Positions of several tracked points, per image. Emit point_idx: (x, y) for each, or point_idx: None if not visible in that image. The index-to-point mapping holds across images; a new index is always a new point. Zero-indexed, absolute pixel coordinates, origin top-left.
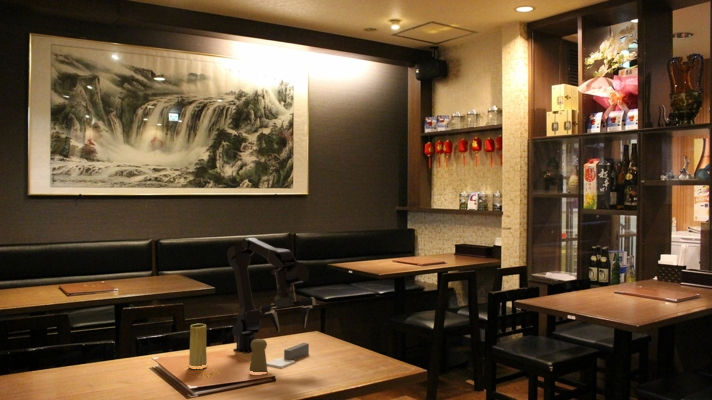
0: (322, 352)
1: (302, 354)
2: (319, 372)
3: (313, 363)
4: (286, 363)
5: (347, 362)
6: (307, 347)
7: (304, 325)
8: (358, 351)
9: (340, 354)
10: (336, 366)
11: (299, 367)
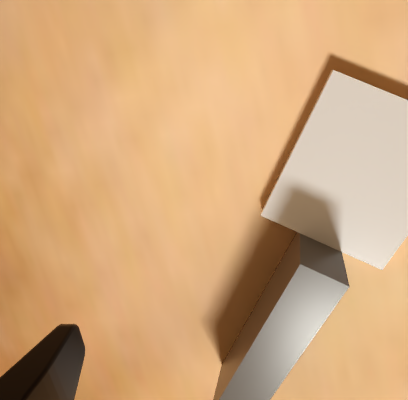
0: (163, 388)
1: (242, 334)
2: (69, 30)
3: (154, 209)
4: (307, 150)
5: (7, 239)
6: (218, 390)
7: (34, 347)
8: None
9: None
10: (27, 167)
11: (213, 117)
